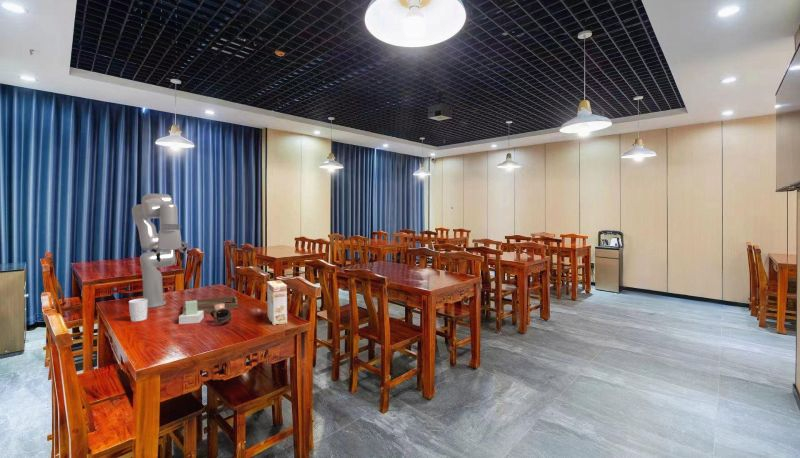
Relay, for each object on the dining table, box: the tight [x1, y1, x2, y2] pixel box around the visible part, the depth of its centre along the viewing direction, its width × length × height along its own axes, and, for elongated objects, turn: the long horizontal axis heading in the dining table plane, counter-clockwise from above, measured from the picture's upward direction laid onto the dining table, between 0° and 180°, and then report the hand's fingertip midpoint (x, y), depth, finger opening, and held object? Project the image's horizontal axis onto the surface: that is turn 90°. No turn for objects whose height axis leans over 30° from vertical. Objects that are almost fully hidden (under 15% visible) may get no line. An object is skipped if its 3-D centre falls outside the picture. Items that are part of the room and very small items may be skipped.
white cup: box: [128, 298, 149, 322], centre depth 184 cm, size 8×8×10 cm
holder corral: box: [182, 295, 239, 314], centre depth 206 cm, size 17×27×4 cm, turn 118°
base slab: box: [178, 310, 204, 325], centre depth 183 cm, size 9×9×4 cm
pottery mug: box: [209, 308, 233, 326], centre depth 180 cm, size 12×10×8 cm
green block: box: [184, 299, 198, 315], centre depth 183 cm, size 5×5×6 cm
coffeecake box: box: [266, 279, 288, 326], centre depth 184 cm, size 15×7×20 cm, turn 31°
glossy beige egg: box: [213, 303, 226, 313], centre depth 195 cm, size 5×5×5 cm
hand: (170, 260), depth 184 cm, fingers open, 9 cm apart
